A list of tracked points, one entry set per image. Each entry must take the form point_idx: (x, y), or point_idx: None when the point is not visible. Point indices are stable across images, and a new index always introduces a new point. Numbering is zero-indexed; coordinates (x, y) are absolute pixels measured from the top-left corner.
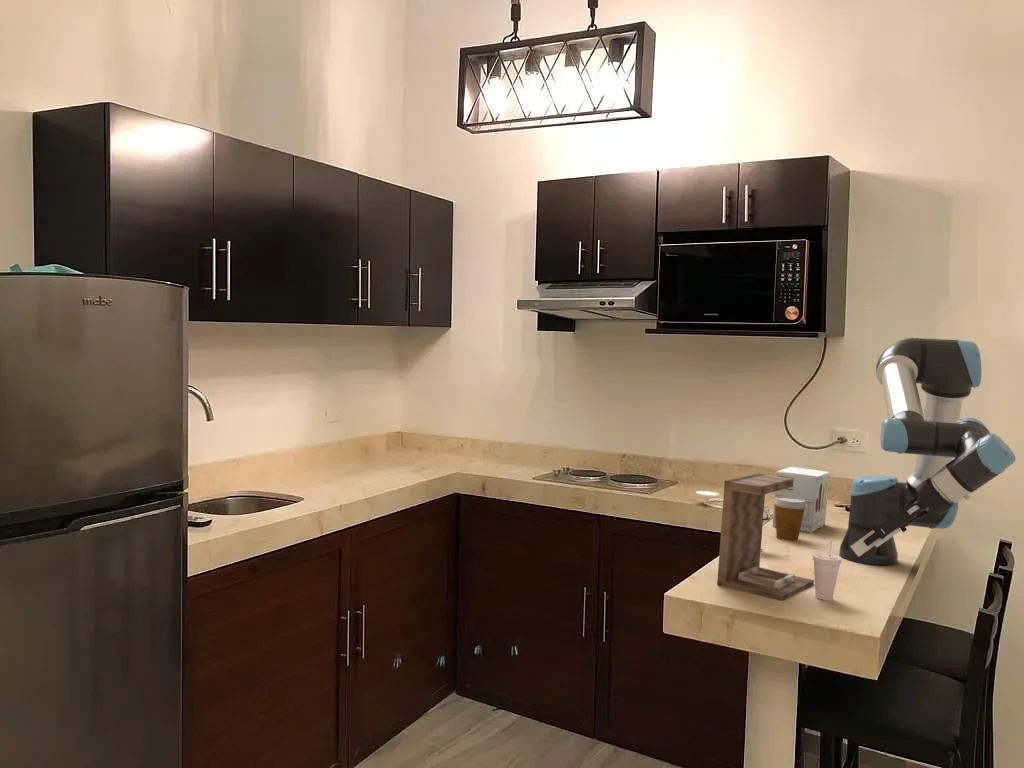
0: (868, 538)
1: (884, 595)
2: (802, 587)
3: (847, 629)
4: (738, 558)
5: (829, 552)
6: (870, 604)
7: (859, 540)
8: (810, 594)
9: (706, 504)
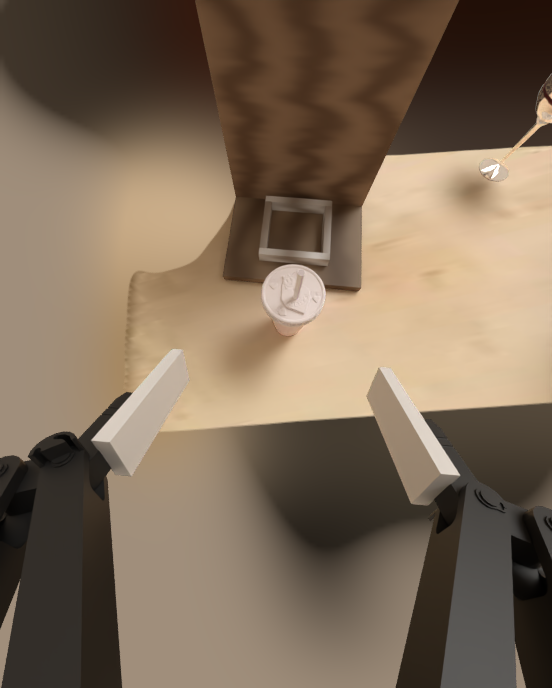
0: (105, 415)
1: None
2: None
3: None
4: (277, 169)
5: (294, 291)
6: (309, 392)
7: (150, 375)
8: None
9: None
